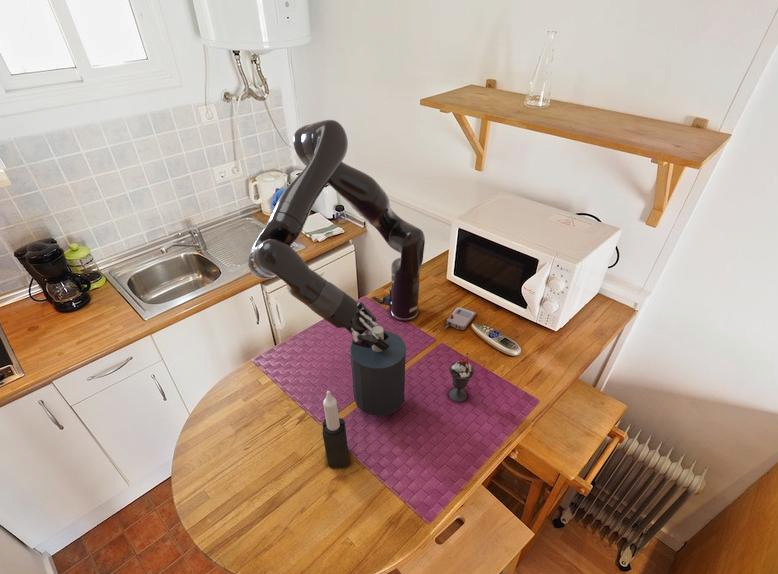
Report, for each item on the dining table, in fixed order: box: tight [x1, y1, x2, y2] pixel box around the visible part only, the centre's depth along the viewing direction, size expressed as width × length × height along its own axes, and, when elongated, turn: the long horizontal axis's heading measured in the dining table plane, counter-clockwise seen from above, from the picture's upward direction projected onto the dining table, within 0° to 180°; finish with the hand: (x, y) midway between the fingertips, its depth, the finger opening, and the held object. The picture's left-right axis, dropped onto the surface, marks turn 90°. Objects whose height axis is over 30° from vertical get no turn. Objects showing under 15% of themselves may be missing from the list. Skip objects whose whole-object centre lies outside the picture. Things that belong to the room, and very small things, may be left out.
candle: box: [321, 390, 350, 469], centre depth 98 cm, size 5×5×25 cm
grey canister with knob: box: [349, 325, 407, 417], centre depth 109 cm, size 14×14×24 cm
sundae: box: [448, 352, 475, 403], centre depth 117 cm, size 7×7×15 cm
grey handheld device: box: [444, 306, 477, 331], centre depth 146 cm, size 7×16×3 cm, turn 148°
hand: (386, 342), depth 104 cm, fingers closed on grey canister with knob, 3 cm apart
